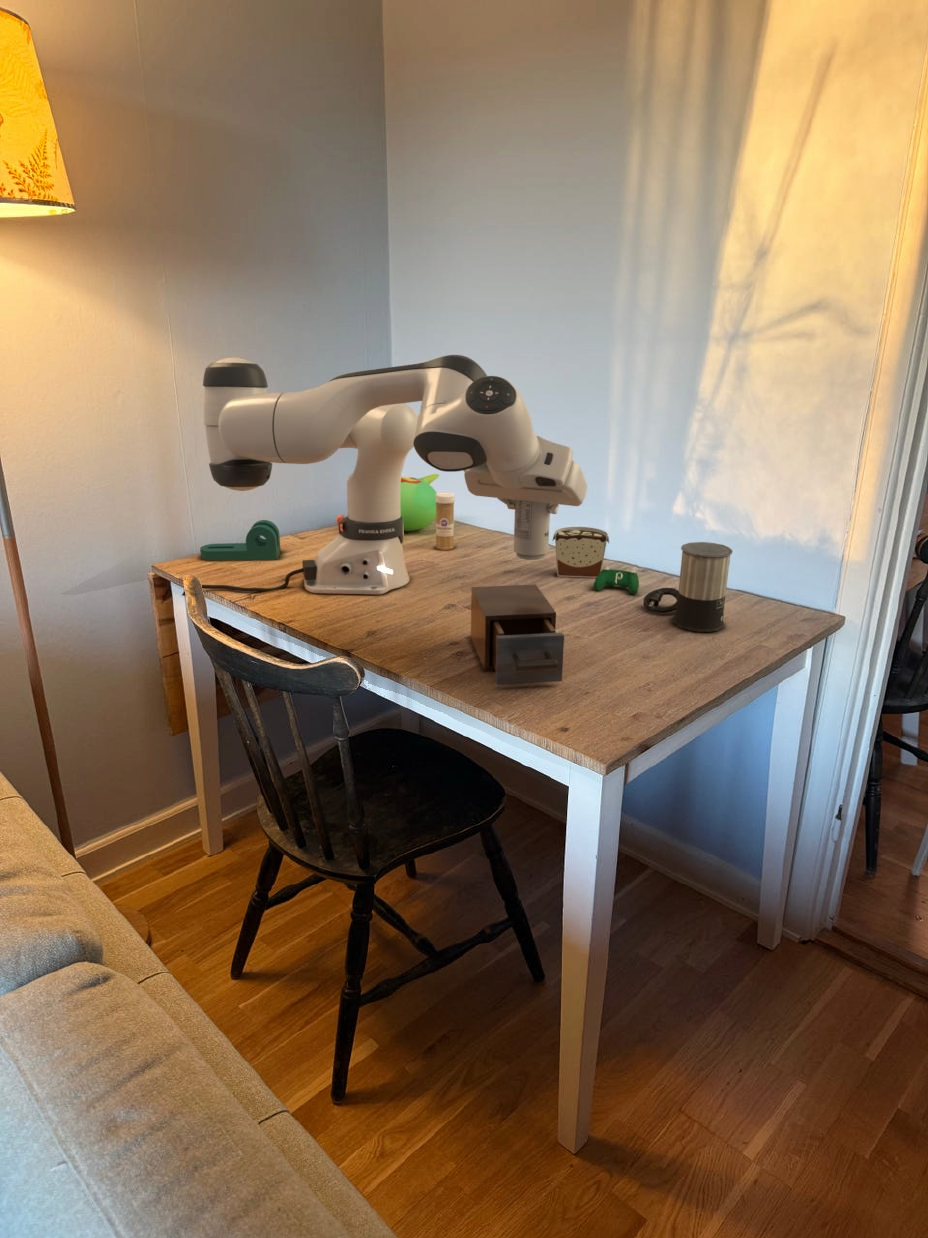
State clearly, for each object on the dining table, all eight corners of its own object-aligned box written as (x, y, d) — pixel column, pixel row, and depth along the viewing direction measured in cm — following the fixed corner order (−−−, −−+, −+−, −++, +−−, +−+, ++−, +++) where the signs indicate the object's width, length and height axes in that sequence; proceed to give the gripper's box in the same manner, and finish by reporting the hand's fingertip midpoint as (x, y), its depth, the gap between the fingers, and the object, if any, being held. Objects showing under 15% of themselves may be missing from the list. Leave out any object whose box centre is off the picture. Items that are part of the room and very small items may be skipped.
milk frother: (721, 636, 150) (731, 557, 144) (634, 624, 155) (641, 548, 150) (726, 611, 162) (736, 537, 157) (646, 601, 167) (652, 530, 162)
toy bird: (364, 535, 213) (362, 479, 208) (381, 520, 228) (379, 467, 223) (433, 539, 210) (432, 482, 205) (445, 523, 226) (445, 469, 221)
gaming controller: (637, 600, 173) (642, 575, 175) (637, 592, 169) (641, 566, 172) (594, 595, 176) (598, 571, 178) (592, 587, 172) (597, 562, 175)
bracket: (280, 551, 199) (278, 519, 196) (276, 559, 193) (274, 526, 190) (204, 552, 197) (201, 520, 195) (198, 560, 191) (194, 527, 188)
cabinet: (553, 667, 136) (556, 612, 133) (484, 670, 135) (485, 616, 131) (533, 634, 150) (535, 584, 147) (470, 637, 148) (471, 587, 145)
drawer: (570, 694, 125) (572, 647, 122) (502, 698, 123) (503, 650, 120) (541, 648, 142) (543, 605, 139) (482, 651, 140) (482, 608, 137)
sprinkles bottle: (437, 550, 200) (436, 496, 196) (434, 545, 205) (434, 492, 200) (455, 549, 201) (455, 495, 196) (452, 544, 205) (452, 491, 201)
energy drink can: (553, 559, 143) (557, 472, 137) (520, 561, 141) (523, 474, 136) (540, 550, 148) (543, 466, 143) (508, 552, 146) (511, 468, 141)
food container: (605, 569, 187) (608, 526, 183) (606, 578, 181) (610, 534, 178) (550, 567, 188) (552, 525, 184) (550, 576, 182) (552, 532, 179)
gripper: (449, 470, 133) (473, 517, 145) (571, 482, 125) (585, 530, 137) (461, 439, 135) (483, 487, 147) (581, 448, 127) (595, 498, 139)
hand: (533, 508), depth 142 cm, fingers closed on energy drink can, 6 cm apart
